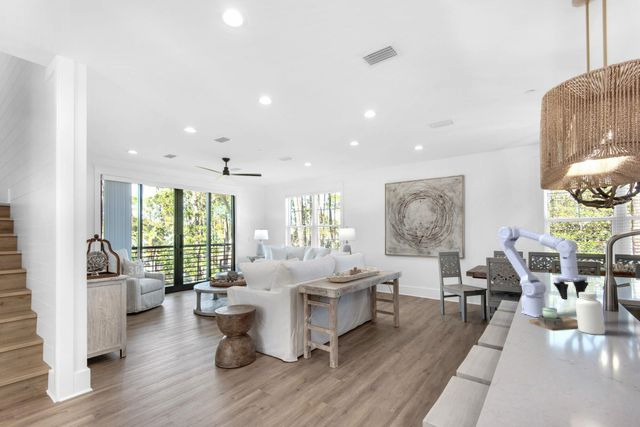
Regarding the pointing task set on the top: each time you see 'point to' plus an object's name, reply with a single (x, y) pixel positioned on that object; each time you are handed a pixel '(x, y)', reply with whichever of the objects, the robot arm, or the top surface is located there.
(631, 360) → the top surface
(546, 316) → the cap
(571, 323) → the stud board
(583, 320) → the pill bottle
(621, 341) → the top surface
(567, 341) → the top surface
